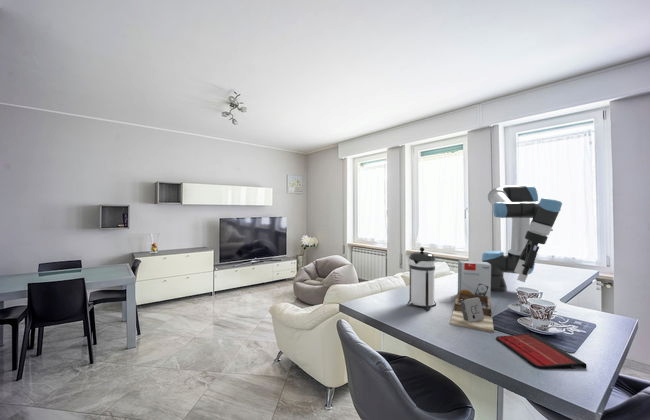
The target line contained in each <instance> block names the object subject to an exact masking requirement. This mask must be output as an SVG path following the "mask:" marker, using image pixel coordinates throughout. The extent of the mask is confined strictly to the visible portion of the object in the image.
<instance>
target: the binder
mask: <svg viewBox="0 0 650 420" xmlns="http://www.w3.org/2000/svg"><path fill="white" fill-rule="evenodd" d="M495 340H496V341H497V342H499V343H500V344H503V345H504V346H506V347H507V348H508V349H510V350H511V351H513V352H514V353H516V354H517V355H518V356H520V357H521V358H523V359H524V360H525V361H526V362H527V363H528V364H529V365H531V367H534V368H535V369H541V370H576V367H572V366H580V367H582V368H584V369H587V364H586V363H585V362H584V361H582V360H581V359H579V358H577V357H575V356H573V355H571V354H570V353H568V352H566V351H565V350H563V349H561V348H560V347H558V346H557V345H555V344H552V343H551V342H549V341H548V340H545V339H543V338H542V337H540V336H539V335H536V334H535V332H532V333H521V334H511V335H501V336H500V335H498V336H497V335H496V337H495Z"/></svg>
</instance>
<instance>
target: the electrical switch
mask: <svg viewBox="0 0 650 420" xmlns="http://www.w3.org/2000/svg"><path fill="white" fill-rule="evenodd" d="M459 304H461V309H462V313H463V317H464V320H468V321H469V322H475V321H479V320H483V319H484V314H483V310H482V307H483V306H482V303H481V302H480V298H478V297H476V298H471V299H466V300H460V301H459ZM464 308H465V309H464ZM464 310H465V311H464Z"/></svg>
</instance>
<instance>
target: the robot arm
mask: <svg viewBox="0 0 650 420" xmlns="http://www.w3.org/2000/svg"><path fill="white" fill-rule="evenodd" d="M538 196H539V195H538V190H537V188H536V187H535V186H534V185H531V184H529V185H528V184H521V185H520V184H519V185H516V184H515V185H500V186H497V187H495V188H493V189H492V190H490V191H489V193H488V194H487V200H488V202H489V204H491V205H492V214H493V217H495V218H500V219H501V218H502V219H507V218H510V219H511V241H510V242H511V243H510V249H508V250H507V253H504V251H502V250H488V251H484V252H483V253H482V254H481V256H482V258H481V262H488V263H489V264H491V291H493V292H506V291H507V290H508V286H507V283H506V280H505V278H504V273H506V274H515V275H516V274H517V275H518V277H517V278H516V280H517V281H519V282H522V283H526V280H527V278H528V275H531V274H532V273H533V271H534V270H535V265H536V263H535V262H536V258H537V255H538V252H539V249H540V246H539V244H540V245H546V244H547V241H548V238H549V237H548V236H549V235H550V233H551V232H553V227H554V225H555V222H556V220H557V218H558V215H559V213H560V211H561V209H562V205H563V203H562V201H560V200H556V199H552V198H547V197H541V199H539V197H538ZM491 291H490V292H491Z"/></svg>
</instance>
